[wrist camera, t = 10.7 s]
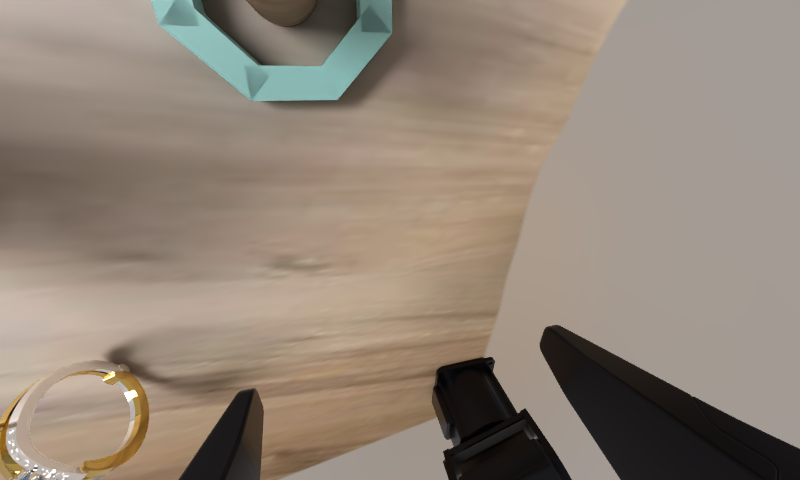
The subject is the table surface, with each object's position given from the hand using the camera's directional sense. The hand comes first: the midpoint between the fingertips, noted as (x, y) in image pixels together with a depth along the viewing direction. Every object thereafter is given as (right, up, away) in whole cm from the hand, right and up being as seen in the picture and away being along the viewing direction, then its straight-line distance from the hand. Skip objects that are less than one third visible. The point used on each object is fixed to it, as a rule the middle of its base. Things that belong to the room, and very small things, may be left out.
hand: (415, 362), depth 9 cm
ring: (-21, -5, +13) cm, 25 cm away
